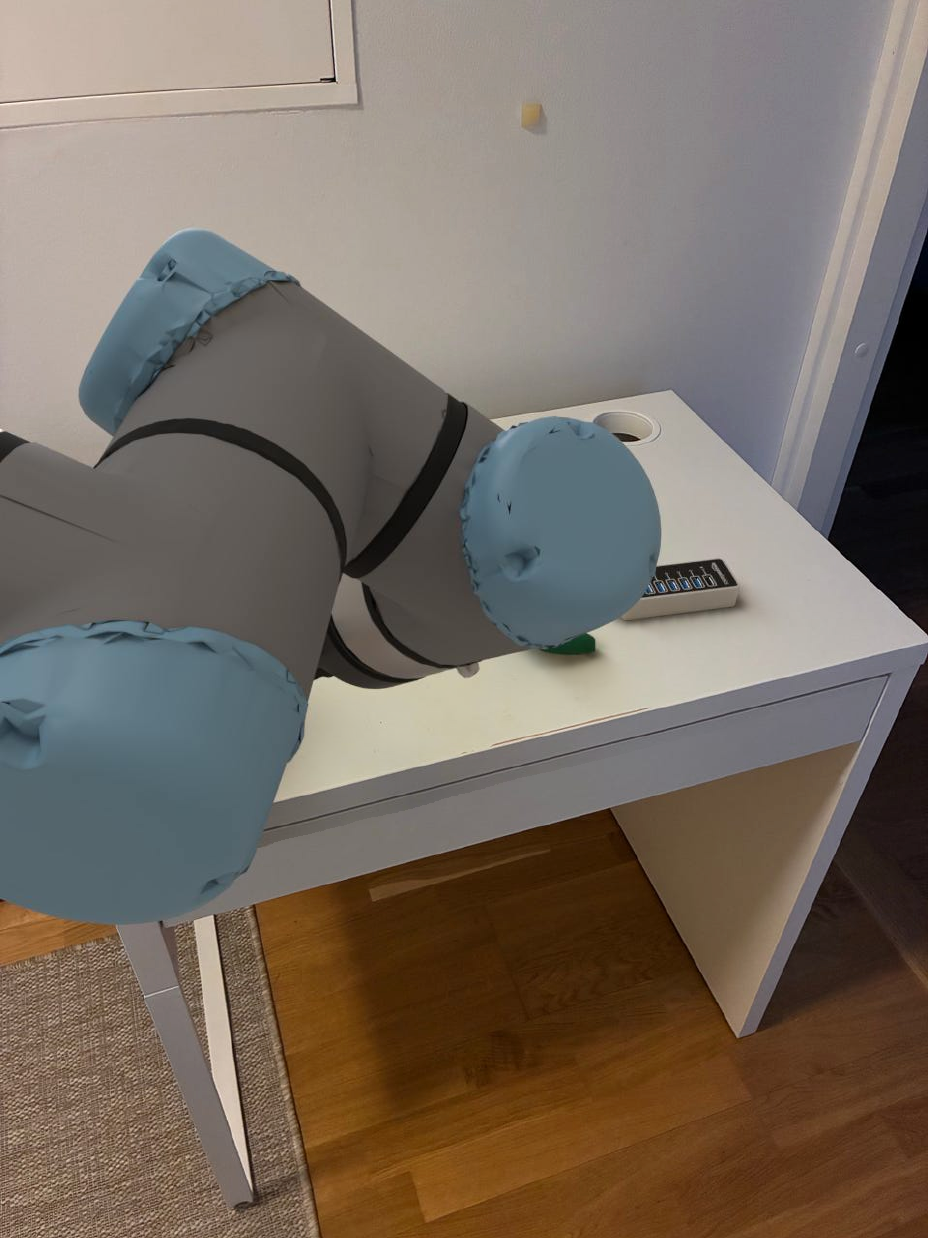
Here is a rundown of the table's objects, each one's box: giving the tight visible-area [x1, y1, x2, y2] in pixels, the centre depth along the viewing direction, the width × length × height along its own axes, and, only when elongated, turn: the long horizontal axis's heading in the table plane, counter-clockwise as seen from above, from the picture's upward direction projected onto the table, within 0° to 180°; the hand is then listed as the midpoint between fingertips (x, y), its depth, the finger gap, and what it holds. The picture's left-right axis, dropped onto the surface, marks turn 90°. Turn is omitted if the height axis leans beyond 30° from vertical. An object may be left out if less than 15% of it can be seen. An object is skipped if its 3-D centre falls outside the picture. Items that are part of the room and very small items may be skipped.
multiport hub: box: [620, 557, 741, 621], centre depth 88 cm, size 4×11×2 cm, turn 101°
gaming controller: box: [539, 633, 596, 656], centre depth 84 cm, size 9×4×6 cm
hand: (266, 661), depth 63 cm, fingers open, 13 cm apart
